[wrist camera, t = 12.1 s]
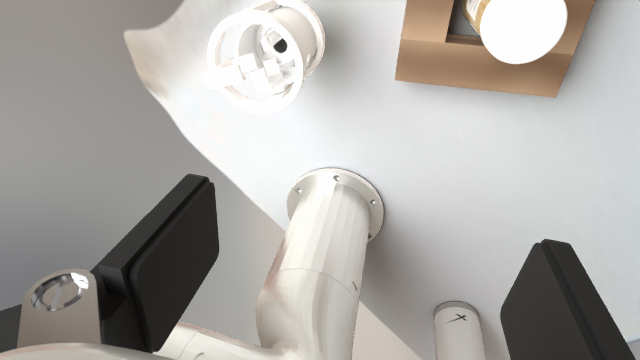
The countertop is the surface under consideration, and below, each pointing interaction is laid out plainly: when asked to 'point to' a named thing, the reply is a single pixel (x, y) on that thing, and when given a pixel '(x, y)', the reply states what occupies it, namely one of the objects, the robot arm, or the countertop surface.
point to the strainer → (267, 53)
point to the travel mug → (458, 332)
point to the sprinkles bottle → (517, 26)
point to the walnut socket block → (479, 53)
